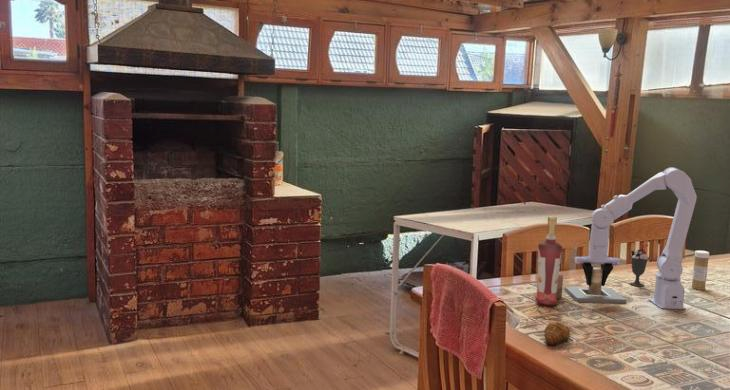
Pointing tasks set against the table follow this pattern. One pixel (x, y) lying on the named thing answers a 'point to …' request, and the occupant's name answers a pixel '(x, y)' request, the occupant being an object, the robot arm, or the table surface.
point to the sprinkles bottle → (700, 270)
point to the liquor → (548, 266)
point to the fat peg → (559, 286)
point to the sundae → (638, 264)
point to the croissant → (556, 333)
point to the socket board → (607, 297)
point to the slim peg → (596, 281)
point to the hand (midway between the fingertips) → (595, 285)
